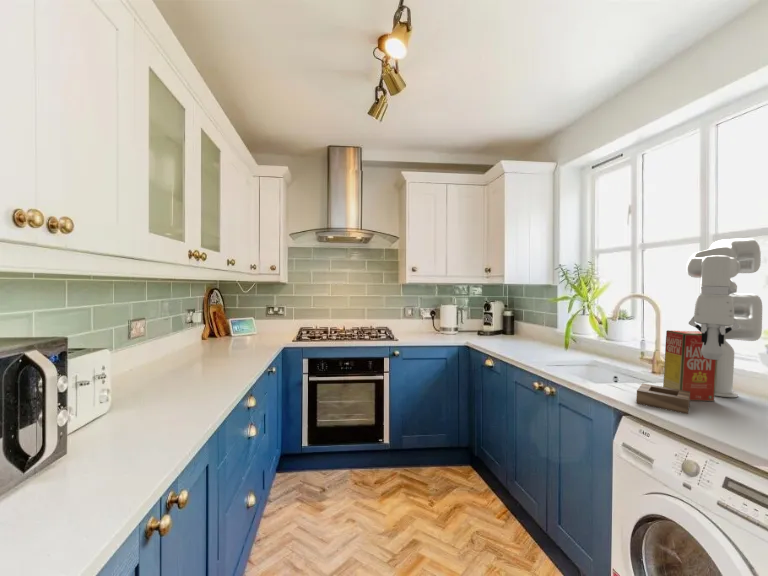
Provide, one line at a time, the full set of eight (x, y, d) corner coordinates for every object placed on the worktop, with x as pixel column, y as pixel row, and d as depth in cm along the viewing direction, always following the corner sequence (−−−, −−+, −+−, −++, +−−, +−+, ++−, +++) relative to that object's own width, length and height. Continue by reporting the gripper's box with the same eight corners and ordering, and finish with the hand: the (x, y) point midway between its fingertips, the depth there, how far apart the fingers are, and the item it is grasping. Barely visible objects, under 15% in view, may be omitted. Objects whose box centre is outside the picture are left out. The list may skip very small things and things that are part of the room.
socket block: (642, 396, 141) (642, 383, 141) (689, 405, 131) (690, 391, 131) (636, 404, 130) (636, 390, 130) (687, 415, 121) (688, 399, 121)
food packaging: (680, 400, 136) (684, 332, 135) (661, 393, 145) (664, 329, 145) (716, 401, 136) (719, 334, 136) (694, 394, 145) (697, 330, 145)
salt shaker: (727, 360, 123) (729, 322, 123) (708, 359, 124) (710, 321, 124) (715, 357, 129) (717, 320, 129) (696, 356, 130) (698, 319, 130)
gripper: (747, 293, 124) (744, 347, 124) (684, 291, 135) (682, 341, 135) (749, 292, 118) (746, 350, 118) (683, 290, 129) (681, 343, 129)
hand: (712, 344), depth 127 cm, fingers closed on salt shaker, 3 cm apart
